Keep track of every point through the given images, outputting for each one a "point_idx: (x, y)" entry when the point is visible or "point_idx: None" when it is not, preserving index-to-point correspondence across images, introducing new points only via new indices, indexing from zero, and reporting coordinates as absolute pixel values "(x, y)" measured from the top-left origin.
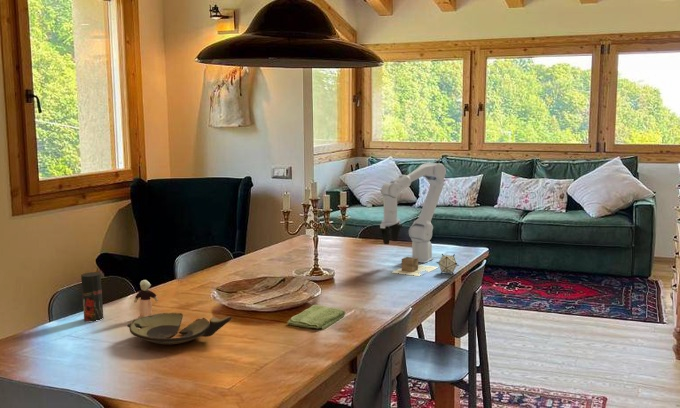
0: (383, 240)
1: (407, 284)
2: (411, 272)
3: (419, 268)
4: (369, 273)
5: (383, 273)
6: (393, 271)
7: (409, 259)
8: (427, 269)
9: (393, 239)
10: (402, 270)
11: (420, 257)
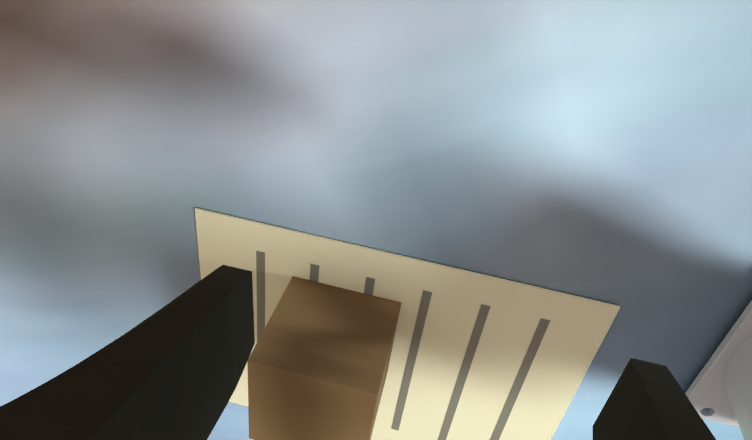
0: (169, 311)
1: (5, 354)
2: None
3: (437, 382)
4: (42, 14)
5: (131, 150)
6: (234, 219)
7: (266, 418)
8: (422, 427)
9: (622, 409)
10: (291, 284)
11: (738, 416)
